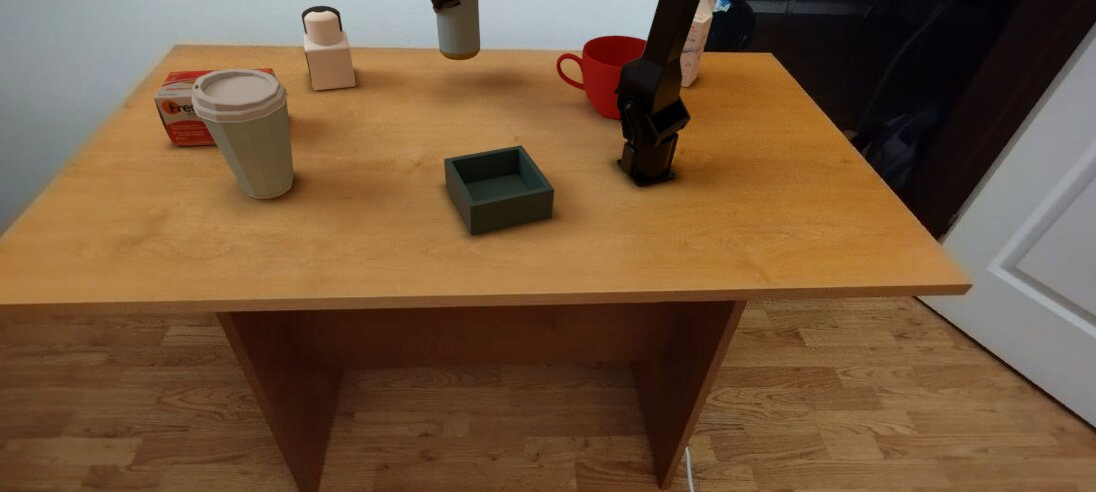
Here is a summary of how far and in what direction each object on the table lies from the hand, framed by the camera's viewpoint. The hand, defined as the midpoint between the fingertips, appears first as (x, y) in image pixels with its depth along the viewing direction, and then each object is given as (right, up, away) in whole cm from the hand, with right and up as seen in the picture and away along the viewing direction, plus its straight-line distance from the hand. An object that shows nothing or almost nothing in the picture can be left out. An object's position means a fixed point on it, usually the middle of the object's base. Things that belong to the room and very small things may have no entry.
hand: (451, 5), depth 95 cm
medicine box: (-33, -23, -7) cm, 40 cm away
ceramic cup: (+25, -16, +3) cm, 30 cm away
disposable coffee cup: (-23, -33, -17) cm, 43 cm away
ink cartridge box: (+39, -8, +13) cm, 42 cm away
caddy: (+8, -34, -18) cm, 40 cm away
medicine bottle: (-22, -10, +7) cm, 25 cm away
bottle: (+1, -6, +5) cm, 8 cm away
